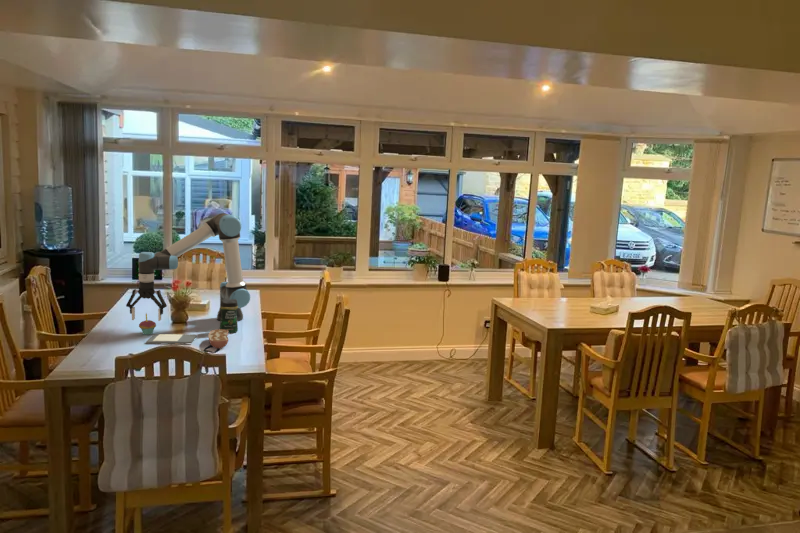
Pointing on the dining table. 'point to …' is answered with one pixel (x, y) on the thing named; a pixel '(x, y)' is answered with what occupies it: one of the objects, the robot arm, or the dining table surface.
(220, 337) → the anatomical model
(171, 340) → the board
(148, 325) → the cupcake
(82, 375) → the dining table surface
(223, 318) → the coffee jar
